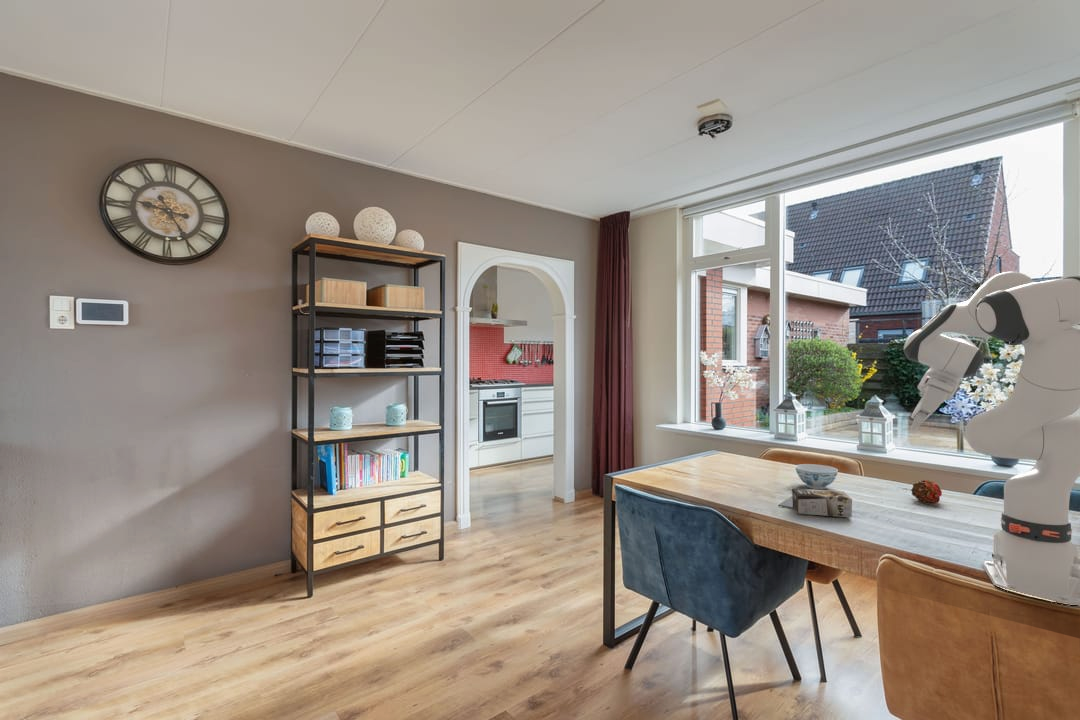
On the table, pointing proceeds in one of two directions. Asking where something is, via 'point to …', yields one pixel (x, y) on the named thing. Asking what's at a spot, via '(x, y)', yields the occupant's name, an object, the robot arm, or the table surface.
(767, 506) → the table surface
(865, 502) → the table surface
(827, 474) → the chinaware
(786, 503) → the slate mat
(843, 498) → the coffee box
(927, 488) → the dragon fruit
